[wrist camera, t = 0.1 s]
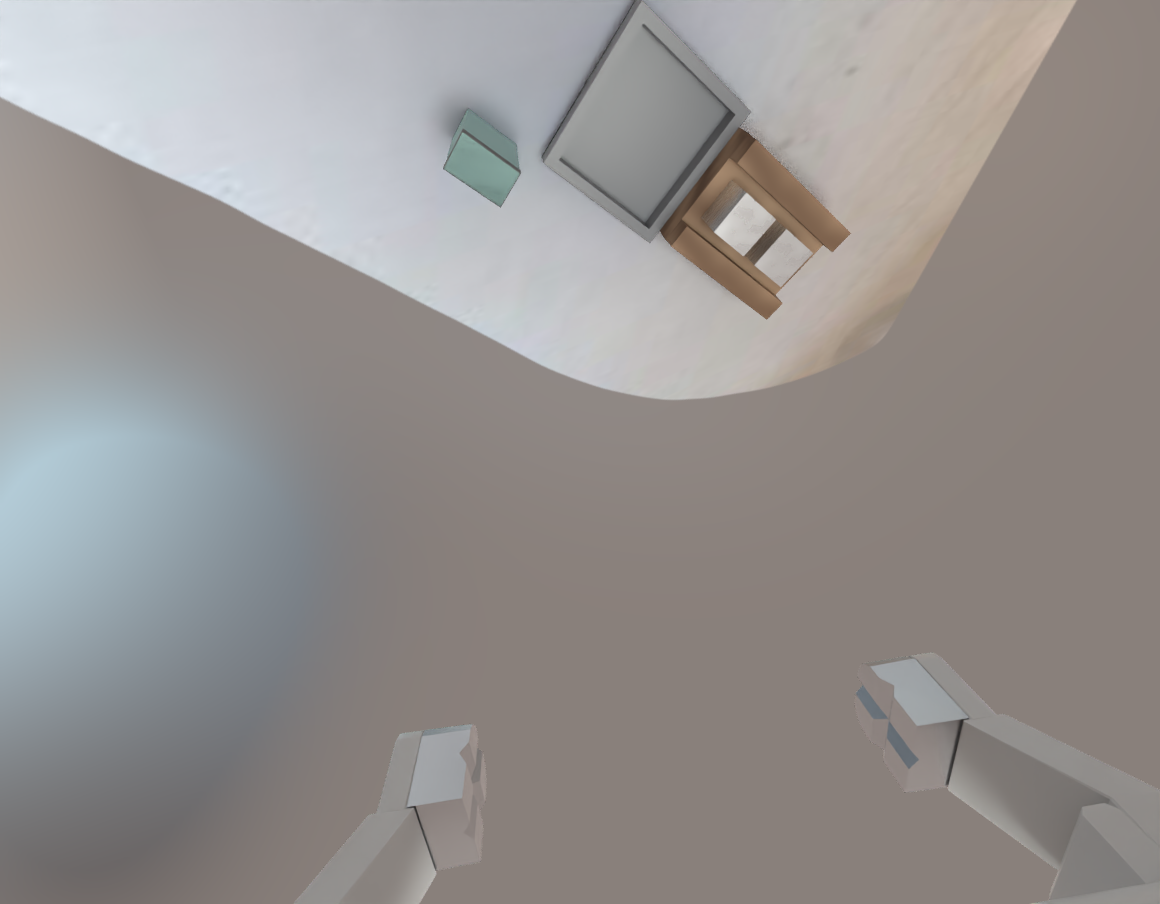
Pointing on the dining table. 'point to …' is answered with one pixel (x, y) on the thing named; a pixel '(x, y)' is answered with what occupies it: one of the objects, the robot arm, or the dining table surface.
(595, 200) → the tray
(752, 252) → the steel block
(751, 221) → the steel block
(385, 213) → the dining table surface
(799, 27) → the dining table surface
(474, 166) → the green grey block
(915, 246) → the dining table surface
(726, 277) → the groove board
